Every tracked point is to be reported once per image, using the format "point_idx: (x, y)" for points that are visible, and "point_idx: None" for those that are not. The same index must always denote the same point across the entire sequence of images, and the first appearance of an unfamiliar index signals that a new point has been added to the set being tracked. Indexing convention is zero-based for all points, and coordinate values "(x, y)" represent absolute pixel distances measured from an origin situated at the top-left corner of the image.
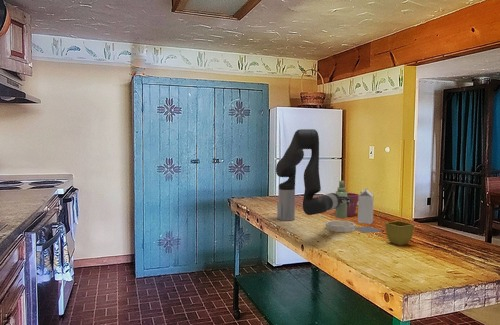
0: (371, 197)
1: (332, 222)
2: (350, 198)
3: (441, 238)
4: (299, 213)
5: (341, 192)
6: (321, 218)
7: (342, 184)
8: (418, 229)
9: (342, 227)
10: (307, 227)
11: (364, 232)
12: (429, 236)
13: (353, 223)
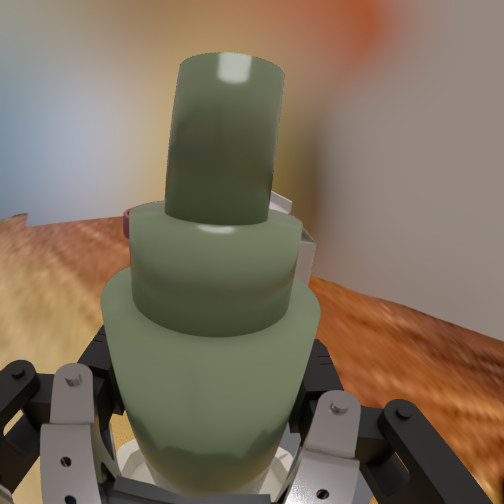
0: (314, 246)
1: (134, 456)
2: (443, 450)
3: (499, 372)
4: (18, 293)
5: (254, 366)
6: (77, 333)
7: (260, 137)
8: (419, 338)
9: None
10: (14, 501)
11: (363, 501)
12: (482, 376)
13: (277, 455)
